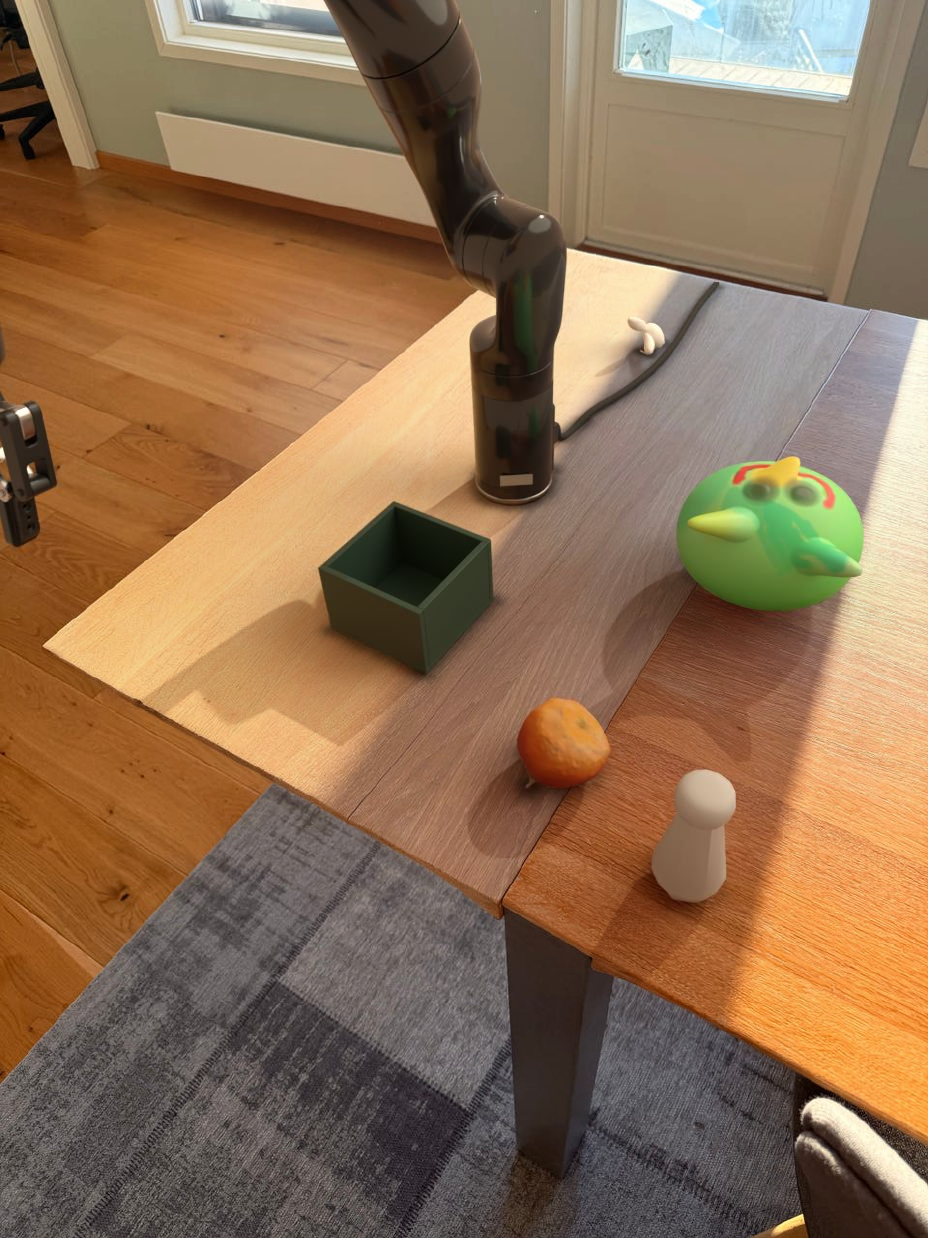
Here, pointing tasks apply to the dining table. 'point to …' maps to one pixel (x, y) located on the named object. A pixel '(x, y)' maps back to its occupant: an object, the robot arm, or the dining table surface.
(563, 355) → the dining table surface
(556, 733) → the fruit
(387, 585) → the bin
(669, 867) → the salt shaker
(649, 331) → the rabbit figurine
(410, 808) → the dining table surface
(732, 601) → the toy bird
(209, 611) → the dining table surface
